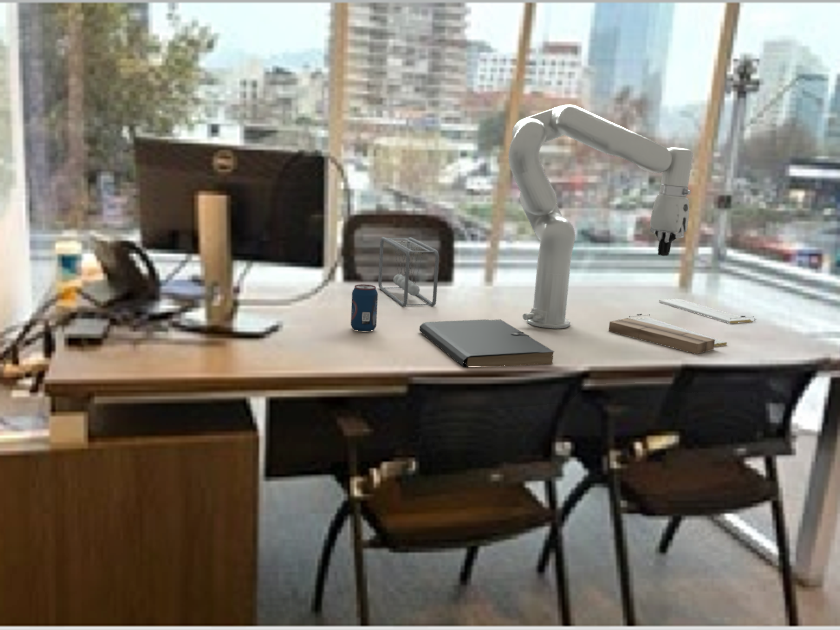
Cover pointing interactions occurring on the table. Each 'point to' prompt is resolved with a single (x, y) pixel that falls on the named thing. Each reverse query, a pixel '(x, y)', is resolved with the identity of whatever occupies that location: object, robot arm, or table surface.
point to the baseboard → (676, 328)
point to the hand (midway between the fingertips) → (663, 255)
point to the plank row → (662, 335)
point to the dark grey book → (486, 343)
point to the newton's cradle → (404, 281)
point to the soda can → (364, 307)
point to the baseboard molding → (705, 310)
